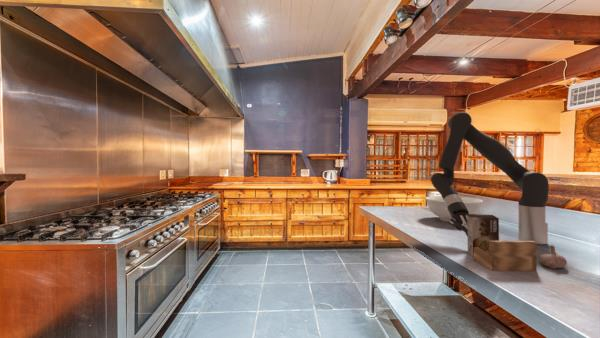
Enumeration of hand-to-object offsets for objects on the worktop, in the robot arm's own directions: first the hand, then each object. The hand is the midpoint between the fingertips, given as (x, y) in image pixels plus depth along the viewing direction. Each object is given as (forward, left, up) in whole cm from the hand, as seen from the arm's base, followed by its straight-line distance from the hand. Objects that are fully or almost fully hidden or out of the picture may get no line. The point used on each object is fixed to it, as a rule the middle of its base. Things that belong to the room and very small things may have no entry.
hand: (472, 238), depth 103 cm
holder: (0, +16, -5) cm, 17 cm away
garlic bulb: (-17, +17, -5) cm, 24 cm away
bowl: (-25, -56, -5) cm, 62 cm away
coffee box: (0, +6, -5) cm, 8 cm away
